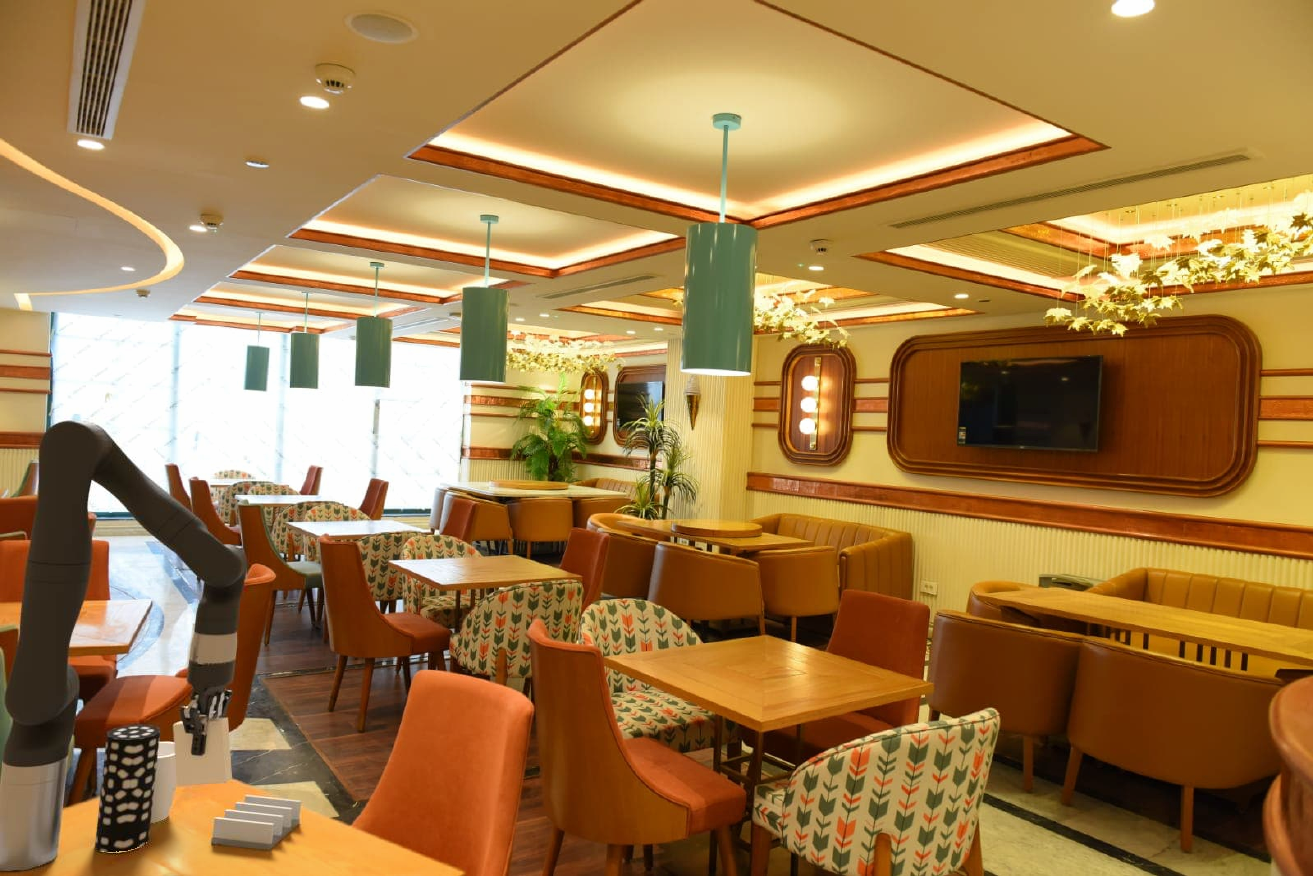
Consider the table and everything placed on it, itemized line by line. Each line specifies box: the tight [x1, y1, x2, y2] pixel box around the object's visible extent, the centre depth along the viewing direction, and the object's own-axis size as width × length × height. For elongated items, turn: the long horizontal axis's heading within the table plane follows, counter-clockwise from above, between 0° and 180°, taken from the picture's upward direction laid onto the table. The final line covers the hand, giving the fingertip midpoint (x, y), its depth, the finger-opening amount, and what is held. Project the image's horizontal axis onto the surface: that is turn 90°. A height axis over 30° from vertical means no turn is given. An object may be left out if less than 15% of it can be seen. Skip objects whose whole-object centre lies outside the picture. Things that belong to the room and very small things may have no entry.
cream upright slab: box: [172, 717, 233, 788], centre depth 155 cm, size 9×2×11 cm, turn 88°
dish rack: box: [210, 794, 302, 851], centre depth 163 cm, size 11×12×4 cm
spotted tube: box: [94, 724, 161, 852], centre depth 155 cm, size 8×8×20 cm
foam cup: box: [150, 741, 177, 825], centre depth 166 cm, size 10×9×13 cm
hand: (201, 752), depth 155 cm, fingers closed on cream upright slab, 2 cm apart
